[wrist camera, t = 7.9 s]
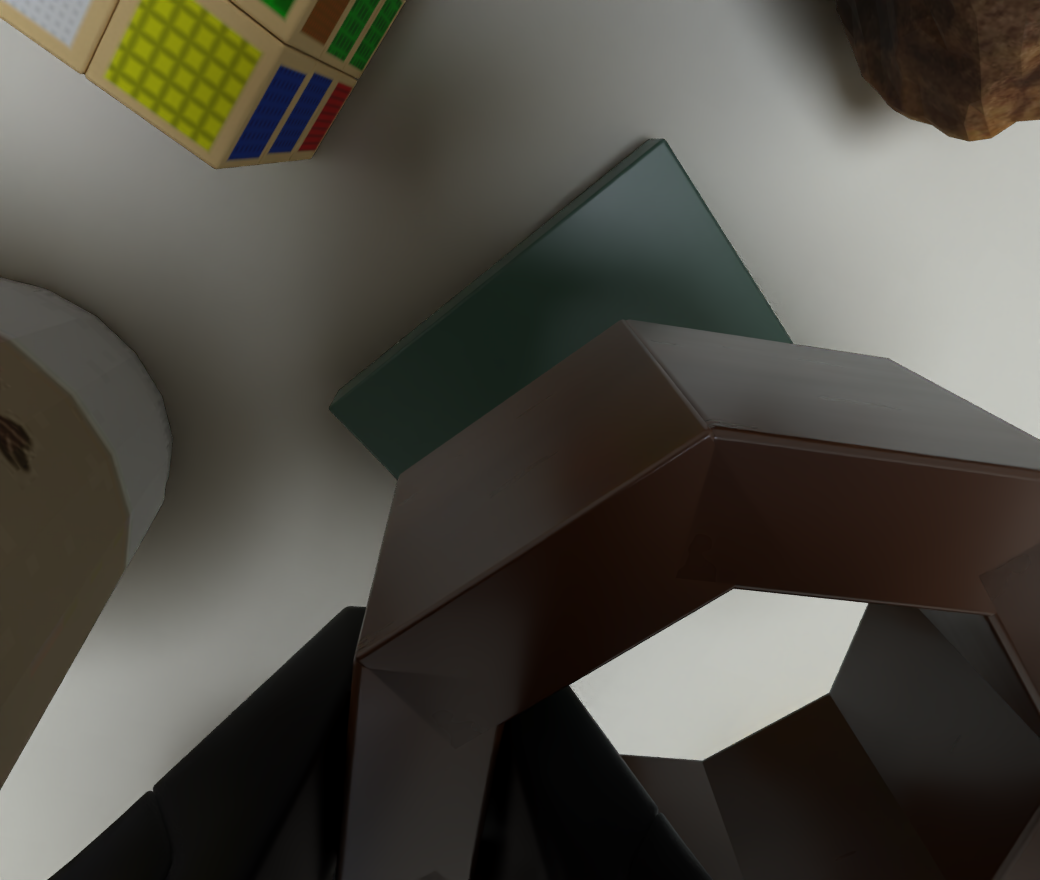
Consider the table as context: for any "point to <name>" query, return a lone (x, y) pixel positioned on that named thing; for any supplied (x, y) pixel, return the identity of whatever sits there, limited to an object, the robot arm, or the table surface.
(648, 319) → the peg stand
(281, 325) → the table surface
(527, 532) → the ring
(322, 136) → the rubik's cube
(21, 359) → the coffee cup
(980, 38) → the brown rounded block
